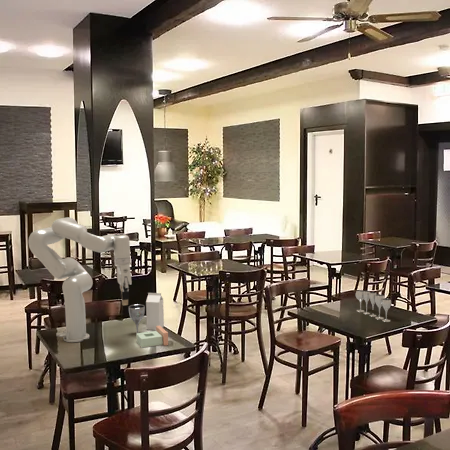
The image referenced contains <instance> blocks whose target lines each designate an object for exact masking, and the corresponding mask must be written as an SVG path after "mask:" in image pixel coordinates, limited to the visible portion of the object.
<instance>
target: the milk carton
mask: <svg viewBox="0 0 450 450" xmlns="http://www.w3.org/2000/svg"><path fill="white" fill-rule="evenodd" d="M147 294H148V295H147V297H146V301H145V311H146V314H145V315H146V330H151V331H156V326H161V327H162V328H163V329H164V327H165V321H164V320H165V319H164V315H165V313H164V298H163V296H162V292H161V293H160V292H159V293H158V292H147Z"/></svg>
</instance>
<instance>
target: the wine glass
mask: <svg viewBox="0 0 450 450" xmlns="http://www.w3.org/2000/svg"><path fill="white" fill-rule="evenodd" d="M145 311H146V305H144V304H140V303H139V304H138V303H137V304H131V305H129V306H128V313H129V317H130V319H131V320H132V322H133V323H135V326H136V328H135V329H136V333H139V326H140V323H141V321H142V320H143V319H144V317H145Z"/></svg>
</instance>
